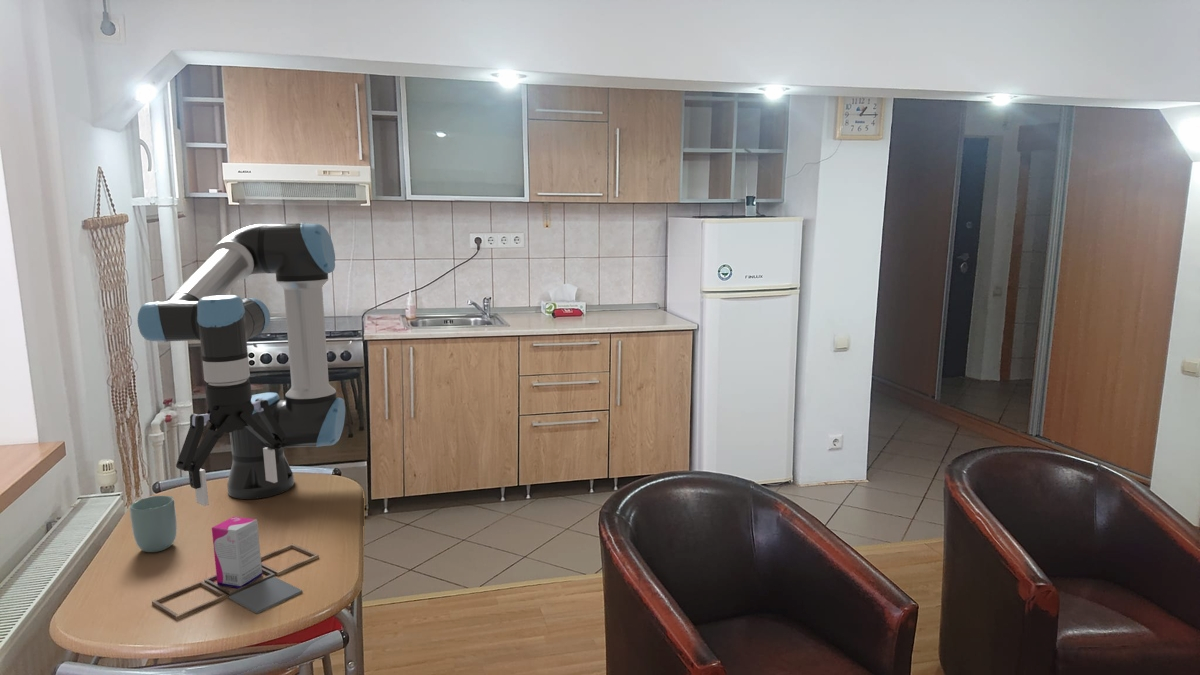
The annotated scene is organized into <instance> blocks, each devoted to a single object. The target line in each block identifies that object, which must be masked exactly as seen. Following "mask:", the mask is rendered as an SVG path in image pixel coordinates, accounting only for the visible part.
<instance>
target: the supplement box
mask: <svg viewBox="0 0 1200 675" xmlns="http://www.w3.org/2000/svg"><path fill="white" fill-rule="evenodd" d="M211 531H212V532H211V534H212V544H213V553H214V554H213V555H214V562H215V563H214V564H215V565H214V566H215V575H217V579H216V582H217V583H216V584H218V585H220V586H221V587H223V586H224V587H229V588H235V589H238V588H241V587H243V586H245V585H248V584H250V583H252V582H254V581H257V580H258V578H259V579H260V577H262V575H263V573H262V566H261V563H262V560H261V556H262V555H261V548H260V547H261V545H260V538H259V537H260V535H259V526H258V520H257V519H256V518H255V519H253V518H247V517H241V516H231V517H230V518H228V519H227V520H224V521H222V522H221V523H218V524H217V525H214V526H212V527H211Z"/></svg>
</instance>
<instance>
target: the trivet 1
mask: <svg viewBox="0 0 1200 675" xmlns="http://www.w3.org/2000/svg"><path fill="white" fill-rule="evenodd" d="M198 587H203V588H204V589H206V590H208V591H210V592H212V593H213V594H214V595H217V596H218V597H215V598H213V599H210V600H209V601H206V602H204V603H201V604H200V605H197V606H194V607H193V608H190V609H188V610H185V611H183V612H180V613H179V614H178V613H176V612H175V611H173V610H172V609H170V608H169V607H167V606H165V605H164V604H162V602H165V601H167V600H169V599H172V598H174V597H176V596H179V595H182V594H183V593H186V592H189V591H190V590H194V589H196V588H198ZM226 599H229V596H228V595H227V594H225V593H223V592H221V591H219V590H218V589H216V588H214V587H212V586H210V585H208V584H207V583H205V582H204V581H203V580H200V581H198V582H195V583H193V584H191V585H187V586H185V587H183V588H180V589H178V590H176V591H173V592H170V593H168V594H166V595H163V596H162V597H159V598H156V599H154V600H151V605H152V606H154V607H156V608H157V609H159V610H161V611H162V612H164V613H165V614H167V615H169V616H170V617H171V618H173V619H175V620H177V621H178V620H180V619H182V618H184V617H188V616H189V615H192V614H193V613H195V612H199V611H201V610H203V609H205V608H208V607H210V606H212V605H214V604H216V603H218V602H221V601H224V600H226Z"/></svg>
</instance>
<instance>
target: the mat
mask: <svg viewBox="0 0 1200 675" xmlns="http://www.w3.org/2000/svg"><path fill="white" fill-rule="evenodd" d="M302 593H303V589H301V588H299V587H297V586H294V585H292V584H290V583H288V582H286V581H284V580H282V579H280V578H278V577H276V576H275V577H272V578H270V579H268V580H266V581H263V582H261V583H259V584H256V585H254V586H252V587H250V588H247V589H245V590H243V591H240V592H238V593H236V594H234V595H231V596H228V599H230V601H232V602H235V603H237V604H238V605H240V606H242V607H244V608H245V609H247V610H249V611H251V612H252V613H255V614H259V613H262V612H264V611H266V610H268V609H270V608H272V607H275V606H276V605H279V604H280V603H283V602H284V601H287V600H289V599H291V598H294V597H296V596H297V595H300V594H302Z"/></svg>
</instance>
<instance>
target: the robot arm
mask: <svg viewBox="0 0 1200 675" xmlns="http://www.w3.org/2000/svg"><path fill="white" fill-rule="evenodd" d="M208 255H209V256H208V258H207V259H206V260H205V261H204V263H203V264H201V265H200V266H199V267H198V269H196V271H194V272H193V273H192V274H191V275H189V277H188V278H187V279H186V280H185V281H184V282H183V283H182V284H181V285H180V286H178V288H177V289H176V290H175V291H174V292H173V293H172V294H171V295H170V296H168V297H167V299H166V300H165V301H159V300H156V301H153V302H146V303H144V304H142V306H141V307H140V309H139V310H138V313H137V327H138V330H139V333H140V335H141V336H142V338H144V339H145V340H146V341H149V342H164V343H168V342H186V341H187V342H189V341H194V342H195V341H200V349H201V360H202V370H203V379H204V382H205V383H206V384H205V386H204V388H205V390H204V391H205V401H206V405H207V412H206V413H202V414H198V413H191V415H190V416H189V428H188V431H187V433H186V436H185V440H184V442H183V445H182V448H181V450H180V454H179V456H178V459H177V462H176V464H175V467H176V469H177V470H181V471H184V472H188V477H189V478H188V479H189V486H190V487H191V488H192V489H194V491H195V498H196V499H195V500H196V504H198V505H201V506H204V507H206V506H209V505H210V503H209V495H208V494H209V491H208V484H207V482H208V481H207V475H206V469H203V468H202V467H203V465H204V464H205V463H206V461H207V459H208V457H209V456H210V454H211V453H212V451H213V449H214V448H215V445H216V444H217V443H218V441H219V439H221V438H222V437H223V436H224V434H229V440H230V448H231V456H232V462H231V463H232V464H231V468H230V472H229V475H228V479H227V484H226V485H227V486H226V487H227V493H228V495H229V496H230V497H232V498H234V499H239V500H257V499H264V498H269V497H274V496H276V495H279V494H281V493H284V492H287V491H288V490H290V489H291V488H292V487H294V485H295V478H294V473H293V471H292V469H291V467H290V465H289V462H288V460H287V457H286V456H285V452H284V448H300V447H302V448H306V447H310V448H311V447H316V448H320V447H324V446H325V447H326V446H333V445H335V444H337V443H338V441H339V440H340V438H341V436H342V433H343V429H344V426H345V420H346V419H345V418H346V404H345V399H344V398H341V397H339V396H338V397H337V391H336V388H334V387H333V386H332V385H331V384H330V381H329V380H330V379H329V369H328V368H329V366H328V364H329V363H328V354H327V353H328V352H327V335H326V326H325V324H326V323H325V311H324V310H325V308H324V295H323V294H324V293H323V287H324V286H325V284H326V283H327V282H328V281H329V274H330V273H332V272H334V271H335V269H336V253H335V247H334V244H333V241H332V238H331V235H330V233H329V231H328V230H327V229H326V227H325V226H323V225H322V224H319V223H306V222H301V223H295V222H294V223H257V224H252V225H248V226H245V227H242V228H240V229H237V230H235V231H233V232H232V233H230V234H228V235H226V236H225V237H223V238H222V239H220V240H219V241H218V242H217V243H216V244H215V245H214V246H213V247H212V248H211V249H210V252H209V254H208ZM257 274H275V279H276V283H277V284H278V285H280V287H282V288H283V292H284V307H285V317H286V319H285V320H286V332H287V344H288V360H289V368H290V369H289V371H290V384H291V386H290V388H289V390H287V392H285V396H284V397H285V399H280V398H281V397H280V395H279V394H278V393H277V392H272V391H271V392H270V391H269V392H262V393H261V392H260V393H257V394H252V384H251V381H250V380H249V378H250V377H251V373H250V362H249V355H248V354H249V352H248V343H247V342H248V340H250V339H252V338H255V337H258V336H260V335H261V334H262V333H263V332H264V331H265V330H266V329H267V328H268V326H269V324H270V321H271V313H270V310H269V308H268V307H267V305H266V304H265V303H264V302H263V301H261V300H259V299H258V298H254V297H253V298H252V297H248V298H247V297H246V298H244V297H240V296H239V295H236V294H228V293H229V292H230V291H231V290H232V289H233V288H234V286H235V285H236V284H237V283H238V282H240V281H243V280H245V279H247V278H249V276H251V275H257ZM207 422H209V423H210V424H209V425H208V426H207V429H206V430H205V435H204V437H203V439H202V436H203V432H204V428H205V426H206V425H207ZM201 439H202V440H201Z"/></svg>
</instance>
